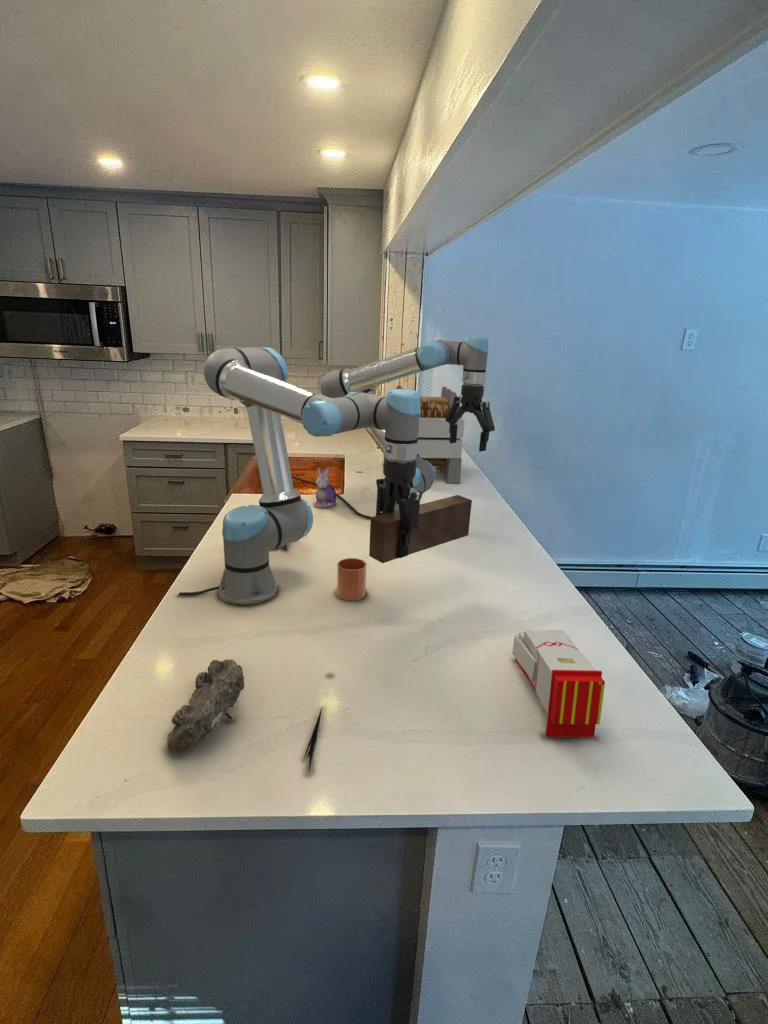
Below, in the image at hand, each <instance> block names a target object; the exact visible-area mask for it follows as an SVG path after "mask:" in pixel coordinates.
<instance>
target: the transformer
mask: <svg viewBox="0 0 768 1024" xmlns="http://www.w3.org/2000/svg"><path fill="white" fill-rule="evenodd" d="M395 389H404V388H403V387H402V385H399V384H398V385H397V386H396V388H395ZM440 393H441V394H440V396H420V410H421V413H420V419H419V429H418V447H417V453H418V455H419V456H420V457H421V459H423V460H426V461H428V462H429V463H430V464H431V465H432V466H433V467H436V468H437V470H438V469H439V473H440V474H441V475H443V478H444V479H445V481H446V482H447V483H449V484H455V483H456V484H459V483H461V472H462V461H463V460H462V453H463V442H464V441H463V440H462V439H463V438H464V431H465V430H464V429H465V419H464V418H463V417H461V418H460V419H459V420H458V421H457V424H458V427H457V439H456V443H449V442H450V433H449V427H450V424H449V422H446V421H445V419H446V417H447V415H448V413H449V411H450V409H451V407H452V405H453V402H454V397H457V396H458V395H457V392H455V391H453V390H452V389H451V388H447V386H442V387H441V392H440ZM460 407H461V405H460V406H459V408H460ZM459 408H458V410H459ZM458 410H457V411H458ZM456 413H457V412H456ZM384 460H385V457H384V456H383V461H384ZM383 464H384V462H383Z"/></svg>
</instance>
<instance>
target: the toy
mask: <svg viewBox="0 0 768 1024" xmlns="http://www.w3.org/2000/svg"><path fill="white" fill-rule="evenodd" d="M511 653H512V655H513V656H514V661H515V662H516V664H517V666H518V667H519V669H520V670H521V672H522V673H523V675H524V676H525V678H526V679H527V681H528V682H529V684H530V685H531V687H532V689H533V690H534V691H535V693H536V696H537V697H538V699H539V700H540V702H541V705H542V706H543V708H544V709H545V711H546V713H547V717H546V725H545V726H546V727H545V737H546V738H595V734H596V725H601V717H602V708H603V701H604V693H605V684H606V681H605V680H604V679H603V678H602V677H603V671H602V670H596V669H595V668H594V667H593V665H592V664H591V663H590V662H589V660H588V659H587V658H586V657H585V655H584V654H583V653H582V652H581V651H580V650H579V648H578V647H577V646H576V645H575V643H574V642H573V641H572V640H571V639H570V637H569V635H567V633H566V632H565V631H564V630H560V629H559V630H554V629H552V630H551V629H550V630H549V629H523V631H518V635H514V639H513V645H512V652H511Z"/></svg>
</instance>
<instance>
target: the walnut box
mask: <svg viewBox="0 0 768 1024" xmlns="http://www.w3.org/2000/svg"><path fill="white" fill-rule="evenodd" d="M472 502H473V500H472V499H470V498H467V497H464V496H462V495H459V494H456V495H452V496H447V497H444V498H440V499H436V500H432V501H428V502H424V503H420V508H419V524H418V531H415V532H412V533H411V538H410V545H408V556H409V555H412V554H416V553H419V552H421V551H425V550H427V549H431V548H434V547H436V546H440V545H443V544H446V543H449V542H452V541H455V540H459V539H462V538H465V537H468V536H469V533H470V532H469V531H470V522H471V521H470V520H471V515H472V514H471V512H472V504H473V503H472ZM370 517H371V519H370V523H369V524H370V526H369V545H368V546H369V547H368V550H369V551H368V552H369V553H368V557H370V558H372V559H373V560H375V561H377V562H379V563H381V564H384V563H388V562H390V561H394V560H397V559H399V558H398V557H397V554H398V538H399V531H402V530H401V521H400V513H399V510H396V511H392V512H389V513H385V514H381V515H377V516H376V515H373V516H370Z"/></svg>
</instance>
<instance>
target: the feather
mask: <svg viewBox="0 0 768 1024" xmlns="http://www.w3.org/2000/svg"><path fill="white" fill-rule="evenodd" d="M329 675H330V676H331V675H332V674H331V673H330V674H329ZM322 710H323V707H321V708H320V710H319V713H318V716H317V719H316V723H315V725H314V728H313V731H312V733H311V737H310V739H309V742H308V745H307V748H306V751H305V754H304V757H303V760H302V763H301V767H302V765H303V763H304V761H305V758H308V759H309V760H308V762H307V763H308V764H307V766H308V771H310V770H311V766H312V765H311V764H312V760H313V757H315V756H314V755H315V751H316V749H315V746H317V739H318V733H319V729H320V722H321V717H322V712H323V711H322ZM313 754H314V755H313ZM306 755H307V757H306Z"/></svg>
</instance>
